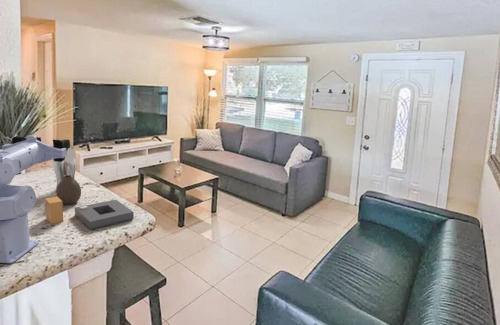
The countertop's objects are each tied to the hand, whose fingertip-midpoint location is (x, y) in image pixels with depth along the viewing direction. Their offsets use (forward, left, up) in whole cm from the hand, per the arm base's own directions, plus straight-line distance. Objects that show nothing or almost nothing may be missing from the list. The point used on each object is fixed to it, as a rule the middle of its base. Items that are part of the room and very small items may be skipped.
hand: (54, 142), depth 88 cm
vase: (+11, +3, -22) cm, 25 cm away
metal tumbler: (+22, +10, -22) cm, 33 cm away
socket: (+2, -12, -22) cm, 25 cm away
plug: (-2, 0, -22) cm, 22 cm away
